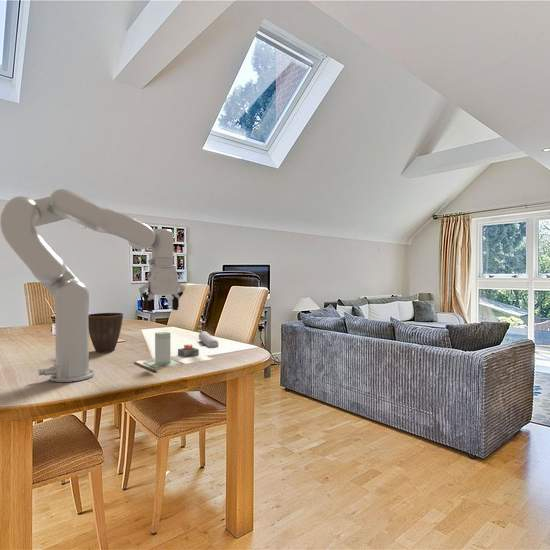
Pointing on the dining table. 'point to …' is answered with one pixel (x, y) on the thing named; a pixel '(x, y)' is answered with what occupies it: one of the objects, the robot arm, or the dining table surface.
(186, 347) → the button
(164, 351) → the grey upright block
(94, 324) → the plant pot
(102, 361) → the dining table surface
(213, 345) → the tube
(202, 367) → the dining table surface
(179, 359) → the board
